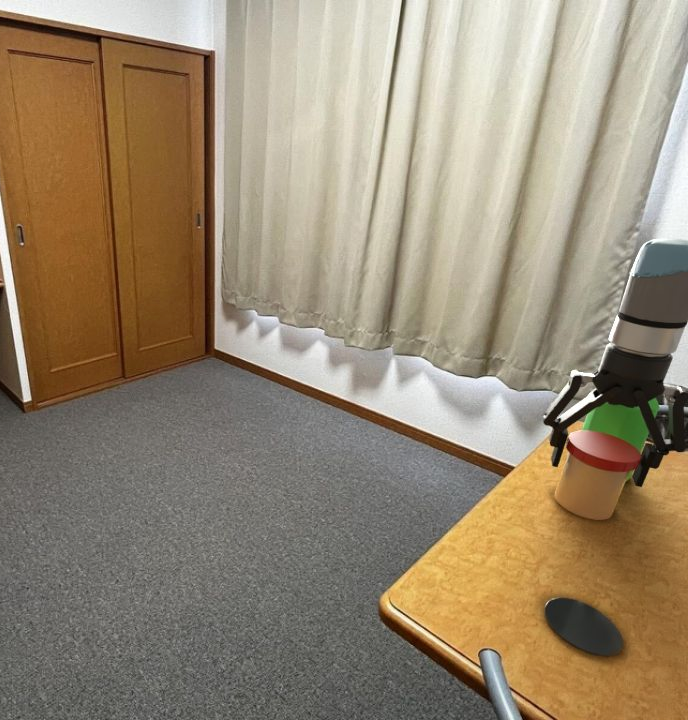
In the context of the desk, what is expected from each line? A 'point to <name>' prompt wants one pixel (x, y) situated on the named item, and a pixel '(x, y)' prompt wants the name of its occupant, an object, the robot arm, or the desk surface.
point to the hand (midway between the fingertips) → (594, 471)
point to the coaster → (583, 627)
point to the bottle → (621, 423)
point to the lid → (603, 451)
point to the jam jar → (589, 489)
